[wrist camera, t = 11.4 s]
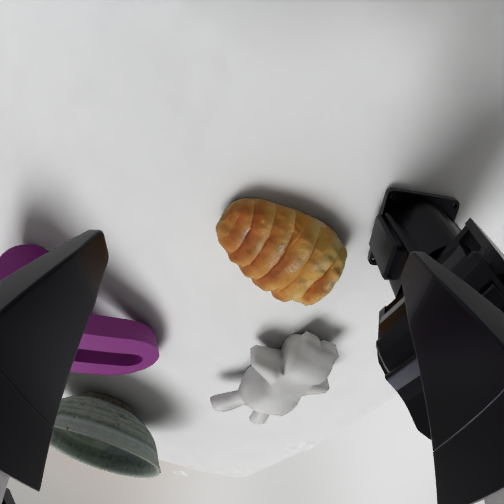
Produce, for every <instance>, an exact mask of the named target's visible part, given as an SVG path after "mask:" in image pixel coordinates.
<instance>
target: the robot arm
mask: <svg viewBox="0 0 504 504" xmlns="http://www.w3.org/2000/svg"><path fill="white" fill-rule="evenodd" d="M391 194H395V195H394V197H392V198H390V196H391ZM454 203H455V204H454ZM453 204H454V206H452V205H453ZM459 206H460V204H459V202H458V201H457V200H456V199H455V198H451V197H446V196H440V195H434V194H428V193H422V192H416V191H410V190H403V189H396V188H390V189H388V190H387V191H386V193H385V197H384V201H383V204H382V208H381V212H380V214H379V215H378V216H377V217H376V221H375V224H374V228H373V232H372V235H371V239H370V242H369V245H370V251H369V254H368V261H369V263H370V264H371V265H378V267H379V270H380V272H381V275H382V277H383V278H384V280H389V282H390V284H391V287H392V289H393V292H394V295H395V297H396V299H394V300H393V301H392V302H391V303H390V304H389V305H388V306H387V307H386V306H385V307H384V308H383V309H382V310H380V311H379V331H378V340H377V341H376V348H377V354H378V361H379V364H380V365H381V368H382V370H383V371H384V373H385V378H386V380H387V381H388V382H389V383H390V384H391V385H392V387H393V388H394V389H395V390H396V391H397V392H398V394H399V395H400V397H401V398H402V399H403V401H404V402H405V404H406V406H407V408H408V410H409V412H410V414H411V416H412V418H413V421H414V423H415V425H416V427H417V429H418V431H420V432H421V433H422V434H424V435H425V436H426V437H427V438H429V439H431V440H432V446H433V451H434V452H433V456H434V465H435V476H436V488H437V503H438V504H474V503H476V502H479V501H481V500H483V499H484V501H485V504H504V254H503V253H502V252H501V251H500V250H499V248H498V247H497V246H496V245H495V244H494V243H493V242H492V240H491V239H490V238H489V237H488V236H487V235H486V234H485V233H484V232H483V231H482V229H481V228H480V227H479V226H478V225H477V224H476V223H475V222H474V221H473V220H472V219H471V218H470V219H469V220H468V221H467V222H466V223H465V225H466V226H465V227H464V228H463V229H462V230H461V229H460V228H459V226H458V225H457V224H456V223H455V221H454V220H455V218H456V215H457V212H458V209H459ZM374 257H375V259H373V258H374ZM107 263H108V250H107V246H106V241H105V237H104V234H103V232H102V231H101V230H88V231H86V232H84V233H82V234H80V235H79V236H77V237H75V238H73V239H71V240H69V241H68V242H66V243H64V244H62V245H60V246H58V247H57V248H55V249H53V250H51V251H50V252H48V253H46V254H44V255H43V256H41V257H39V258H37V259H36V260H34V261H32V262H31V263H29V264H27V265H26V266H24V267H22V268H21V269H19V270H17V271H16V272H14V273H12V274H11V275H9V276H7V277H6V278H4V279H3V280H1V282H0V504H15V502H14V499H13V497H12V495H11V493H10V490H9V489H8V488H6V487H7V483H8V480H9V477H11V478H13V479H15V480H17V481H19V482H20V483H22V484H24V485H26V486H29V487H30V488H32V489H35V490H37V491H40V487H41V482H42V477H43V472H44V467H45V463H46V458H47V453H48V449H49V445H50V441H51V437H52V433H53V427H54V424H55V420H56V417H57V413H58V410H59V406H60V403H61V399H62V396H63V392H64V389H65V386H66V383H67V380H68V376H69V373H70V370H71V367H72V364H73V361H74V358H75V356H76V353H77V350H78V347H79V344H80V341H81V339H82V336H83V333H84V331H85V328H86V325H87V323H88V320H89V318H90V315H91V312H92V310H93V307H94V305H95V302H96V299H97V295H98V292H99V289H100V285H101V282H102V279H103V275H104V272H105V269H106V266H107Z"/></svg>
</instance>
